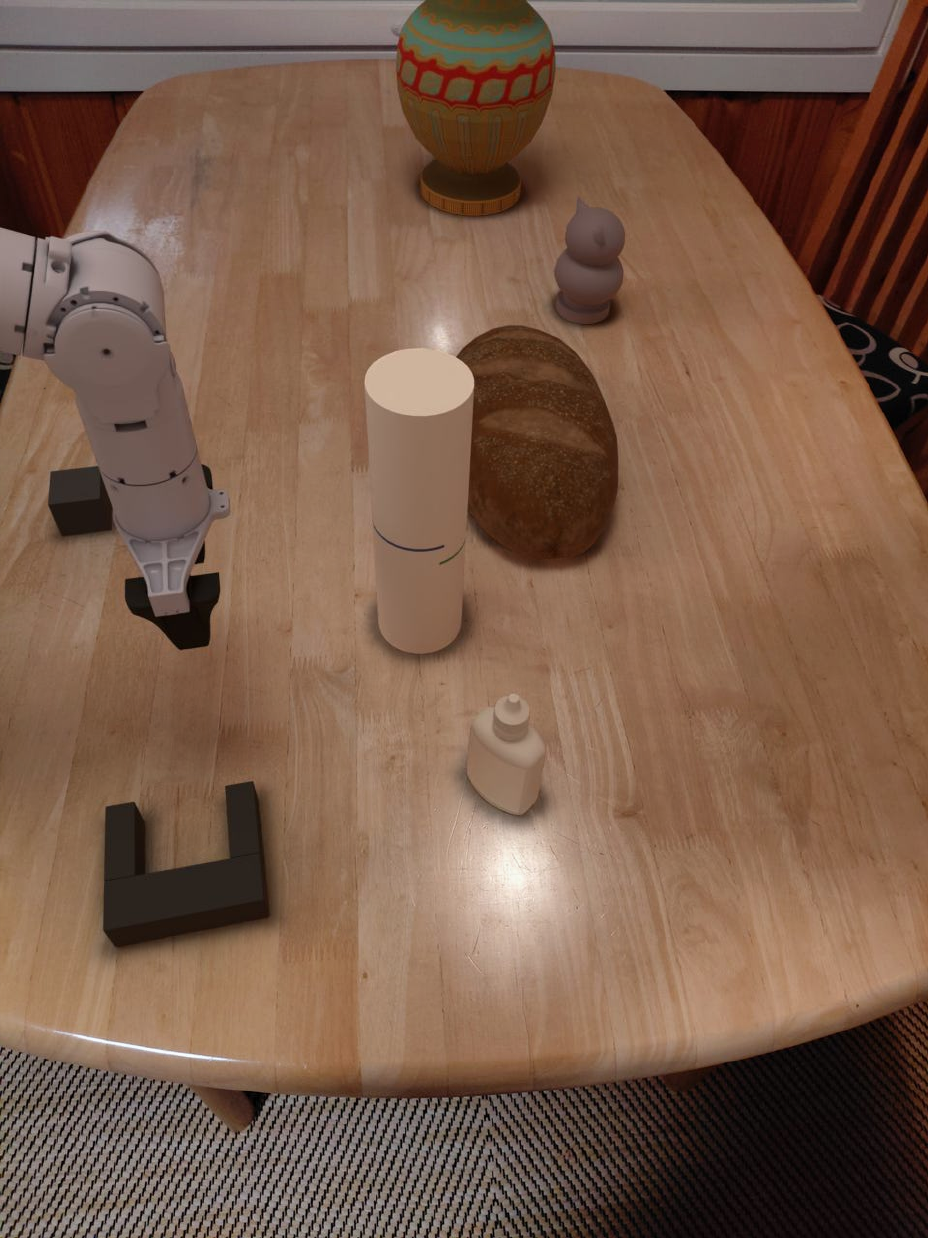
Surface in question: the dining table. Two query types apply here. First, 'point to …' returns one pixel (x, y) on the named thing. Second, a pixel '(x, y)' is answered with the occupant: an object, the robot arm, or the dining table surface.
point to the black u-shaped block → (183, 877)
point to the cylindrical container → (419, 493)
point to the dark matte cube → (79, 501)
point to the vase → (474, 96)
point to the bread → (538, 444)
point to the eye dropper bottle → (506, 755)
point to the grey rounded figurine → (589, 265)
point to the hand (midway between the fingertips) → (191, 601)
